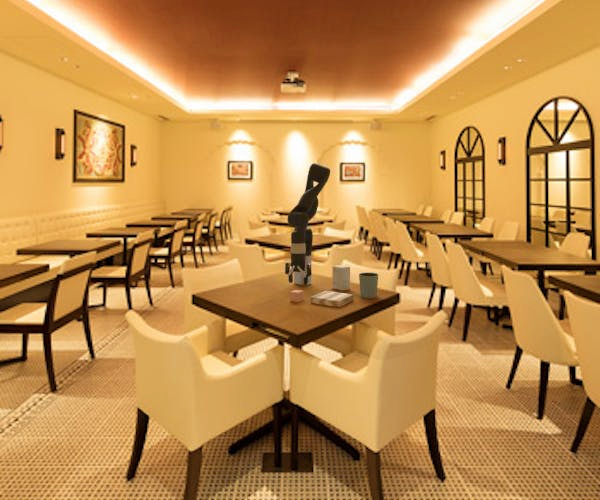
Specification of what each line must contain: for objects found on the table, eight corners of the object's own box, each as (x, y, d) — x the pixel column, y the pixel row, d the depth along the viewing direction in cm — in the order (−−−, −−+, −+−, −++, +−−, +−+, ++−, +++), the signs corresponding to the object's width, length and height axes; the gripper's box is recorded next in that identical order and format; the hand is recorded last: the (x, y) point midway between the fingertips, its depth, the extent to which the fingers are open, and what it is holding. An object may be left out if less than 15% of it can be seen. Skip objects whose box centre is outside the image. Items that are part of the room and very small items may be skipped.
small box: (350, 289, 263) (350, 266, 261) (342, 290, 259) (342, 267, 257) (340, 286, 269) (340, 264, 267) (332, 288, 265) (332, 265, 263)
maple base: (310, 302, 233) (310, 296, 233) (325, 296, 247) (325, 290, 246) (339, 307, 225) (339, 301, 224) (353, 300, 238) (353, 294, 238)
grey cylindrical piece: (379, 298, 242) (380, 275, 241) (360, 298, 241) (361, 276, 240) (375, 293, 252) (375, 272, 251) (356, 294, 251) (357, 272, 250)
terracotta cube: (290, 301, 237) (290, 291, 236) (295, 299, 241) (295, 289, 240) (298, 302, 234) (298, 292, 233) (303, 300, 238) (303, 290, 237)
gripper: (282, 251, 234) (282, 283, 236) (306, 253, 227) (306, 286, 229) (290, 250, 240) (290, 280, 243) (314, 252, 233) (314, 283, 235)
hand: (298, 283), depth 236 cm, fingers open, 8 cm apart
